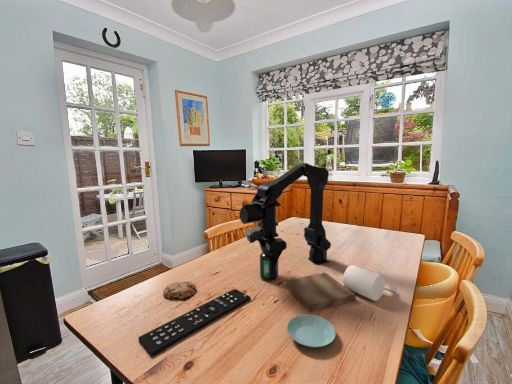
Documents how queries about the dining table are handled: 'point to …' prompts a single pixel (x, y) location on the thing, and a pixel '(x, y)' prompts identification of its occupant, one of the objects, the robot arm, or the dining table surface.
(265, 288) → the dining table surface
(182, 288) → the cookie
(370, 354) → the dining table surface
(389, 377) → the dining table surface
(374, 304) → the dining table surface
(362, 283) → the mug
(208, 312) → the remote control
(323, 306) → the walnut board
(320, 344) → the saucer
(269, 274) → the supplement bottle
